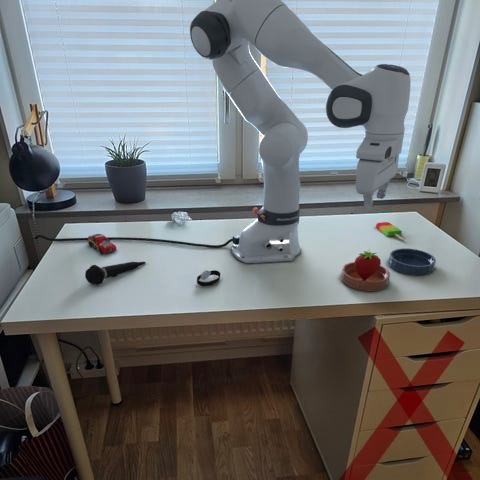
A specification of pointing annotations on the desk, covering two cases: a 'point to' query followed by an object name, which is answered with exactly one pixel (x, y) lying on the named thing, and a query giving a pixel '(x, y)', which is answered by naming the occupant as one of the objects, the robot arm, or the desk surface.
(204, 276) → the watch
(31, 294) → the desk surface
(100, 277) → the microphone
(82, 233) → the desk surface
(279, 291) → the desk surface
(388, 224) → the popsicle
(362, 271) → the strawberry
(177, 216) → the crumpled paper
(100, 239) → the race car
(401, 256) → the slate bowl
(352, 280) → the terracotta bowl
